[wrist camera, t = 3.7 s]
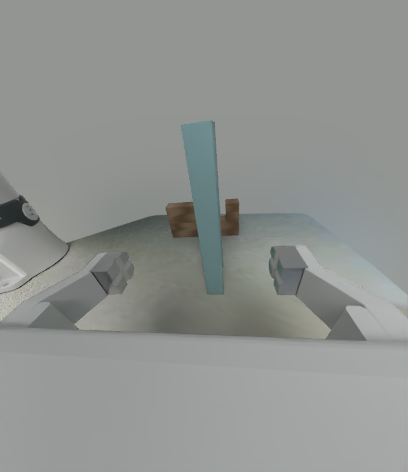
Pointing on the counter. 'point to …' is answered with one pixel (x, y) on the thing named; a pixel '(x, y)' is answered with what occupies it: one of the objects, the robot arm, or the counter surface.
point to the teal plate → (205, 198)
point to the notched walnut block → (185, 219)
